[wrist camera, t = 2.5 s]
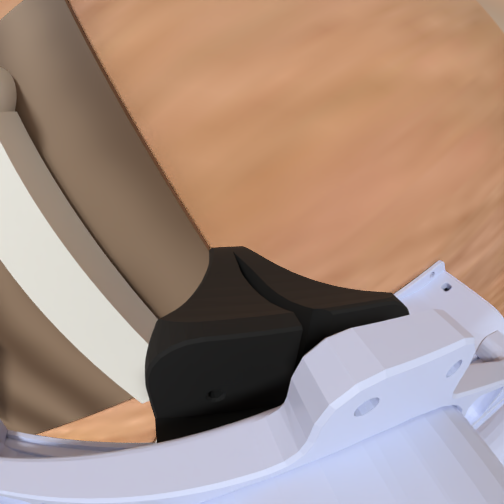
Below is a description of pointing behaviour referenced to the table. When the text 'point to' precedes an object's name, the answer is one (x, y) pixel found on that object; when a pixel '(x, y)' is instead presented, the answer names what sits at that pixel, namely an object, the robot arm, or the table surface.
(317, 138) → the table surface
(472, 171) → the table surface
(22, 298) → the pivot board
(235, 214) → the table surface
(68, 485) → the robot arm
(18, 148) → the pivot bar
